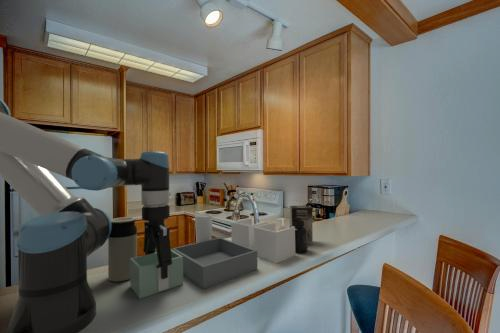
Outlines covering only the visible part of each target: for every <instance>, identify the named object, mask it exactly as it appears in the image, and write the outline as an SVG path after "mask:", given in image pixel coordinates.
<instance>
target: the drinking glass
mask: <svg viewBox="0 0 500 333" xmlns="http://www.w3.org/2000/svg"><path fill="white" fill-rule="evenodd" d="M194 227H195V237H196V239H195V240H196V243H198V242H203V241H207V240H211V239H212V236H213V235H212V234H213V215H212V213H197V214H195V216H194Z"/></svg>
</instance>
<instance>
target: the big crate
mask: <svg viewBox="0 0 500 333" xmlns="http://www.w3.org/2000/svg"><path fill="white" fill-rule="evenodd" d="M171 250H173V251H175V252H176V253H178V254H180V255H181V256H183V276H185V277H187V279H189V280H190V281H192V282H193V283H194V284H196V285H197V286H199V287H200V288H201V289H203V290H204V289H207V288H210V287H213V286H215V285H218V284H220V283H224V282H225V281H226V282H227V281H229V280H231V279H235V278H237V277H239V276H240V277H241V276H242V275H244V274H248V273H250V272H253V271H256V270H258V257H257V251H256V250H254V249H251V248H248V247H245V246H243V245H240V244H237V243H234V242H232V241H231V240H229V239H225V238H224V237H216V238H211V240H207V241H203V242H198V243H197V242H195V243H190V244H185V245H182V246H177V247H172V248H171Z"/></svg>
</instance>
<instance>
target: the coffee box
mask: <svg viewBox="0 0 500 333" xmlns="http://www.w3.org/2000/svg"><path fill="white" fill-rule="evenodd" d="M293 220H303V221H304V227H305V228H306V229H307V241H308V246H312V245H313V238H314V237H313V207H312V206H311V205H289V228H291V227H292V221H293Z"/></svg>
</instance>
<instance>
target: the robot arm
mask: <svg viewBox="0 0 500 333" xmlns="http://www.w3.org/2000/svg"><path fill="white" fill-rule="evenodd" d="M169 165H170V162H169V154H167V153H166V152H164V151H156V150H155V151H154V150H153V151H152V150H151V151H142V152H141V153H140V157H139V158H113V157H107V156H104V155H102V154H99V153H97V152H96V151H95V152H94V151H92V150H90V149H87V148H85V147H83V146H80V145H78V144H76V143H74V142H71V141H69V140H66V139H64V138H62V137H59V136H57V135H55V134H53V133H50V132H48V131H46V130H44V129H41V128H39V127H37V126H34V125H32V124H30V123H27V122H24V121H23V120H19V119H18V118H16V117H13V116H12V115H11V111H10V108H9V107H8V105H7V103H6V102H4V100H3V99H1V98H0V176H1V178H2V179H4V180H5V181H6V183H8V184H9V185H10V187H11V188H12V189H13V190H14V191H15V192H16V193H17V194H18V195H19V196H20V197H21V198H22V199H23V200H24V201H25V202H26V204H28V205H29V206H30V207H31V209H32V210H34V211H35V212H36V213H37V215H39V216H35V217H33V218H31V219H29V220H27V221H25V222H24V223H23V224H21V226H20V227H19V230H18V237H17V240H16V241H17V242H16V247H17V261H18V262H17V263H18V264H17V265H18V274H17V275H18V298H17V301H16V304H15V306H14V309H13V312H12V313H11V314H12V315H11V317H10V320H9V322H8V325H7V328H6V333H77V332H79V331H81V330H82V329H83V328H85V327H86V326H87V325H89V324H90V323H91V322H92V321H93V320H94V319H95V317H96V315H97V301H96V298H95V296H94V294H93V291H92V289H91V286H90V284H89V282H88V274H87V272H88V270H87V269H88V263H87V261H88V257H89V256H90V255H91V254H93V253H94V252H96V251H97V250H98V249H100V248H101V247H102V246H104V245H105V243H106V242H107V241H108V238H109V236H110V234H111V230H112V223H111V219H112V218H110V215H108V213H107V212H105V211H104V210H102V209H100V208H97V207H93V205H91V204H90V202H88V200H87V199H86V198H85V197H80V196H79V197H78V196H74V194H73V193H72V192H71V191H70V189H68V188H67V186H65V184H64V183H63V182H62V181H61V180H60V179H59V178H58V177H57V176H56V175H55V174H57V175H59V176H62V177H65V178H67V179H69V180H72V181H73V182H74V183H75V184H76V185H77V186H78V187H80V188H81V189H83V190H87V191H103V190H106V189H109V188H115V187H120V186H121V187H122V186H124V187H125V186H141V190H140V193H141V194H140V198H141V201H140V204H141V206H142V207H141V219H142V220H143V221H144V223H143V224H144V234H143V235H144V237H143V250H142V251H143V253H145V254H144V255H147V254H152V253H156V252H157V257H158V263H159V265H158V266H156V267H157V269H158V291H161V292H163V291H162V290H164V291H166V290H165V289H167V290H169V289H168V288H169V279H168V265H172V258H171V250H172V248H171V239H170V227H166V225H165V220H166V219H169V218H170V215H171V214H170V207H171V206H170V205H169V204H170V196H171V192H170V166H169Z"/></svg>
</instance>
